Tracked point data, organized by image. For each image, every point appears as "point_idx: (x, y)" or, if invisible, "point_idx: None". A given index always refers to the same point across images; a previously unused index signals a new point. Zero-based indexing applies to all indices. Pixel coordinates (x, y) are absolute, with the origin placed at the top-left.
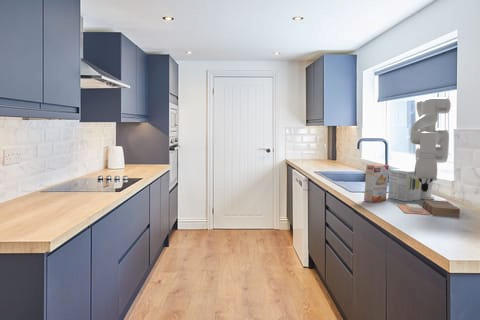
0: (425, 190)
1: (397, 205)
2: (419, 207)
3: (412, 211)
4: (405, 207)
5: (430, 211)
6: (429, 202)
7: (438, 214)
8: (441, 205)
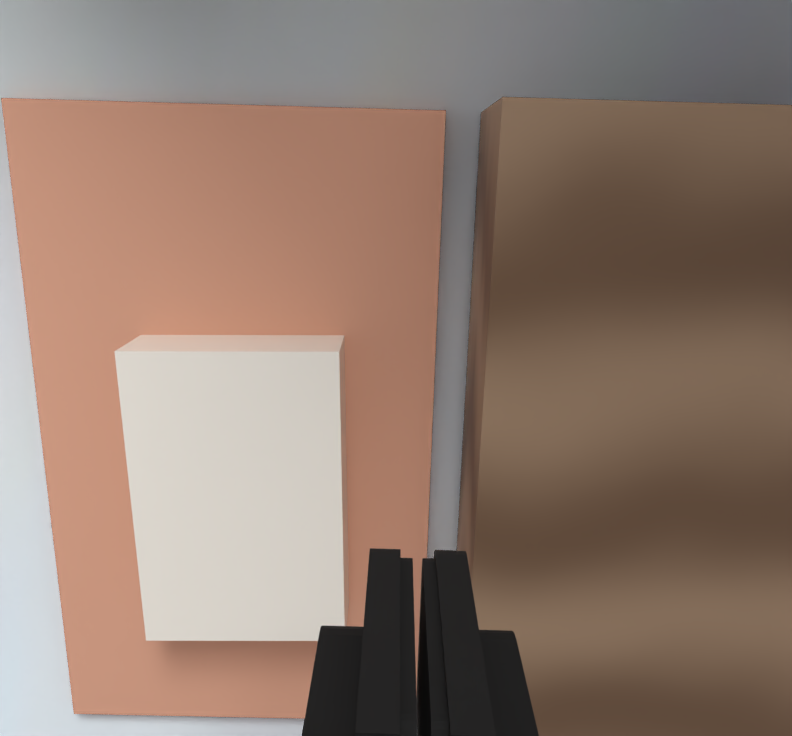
0: (418, 721)
1: (12, 156)
2: (295, 627)
3: None
4: None
5: None
6: (539, 420)
7: None
8: (663, 647)
